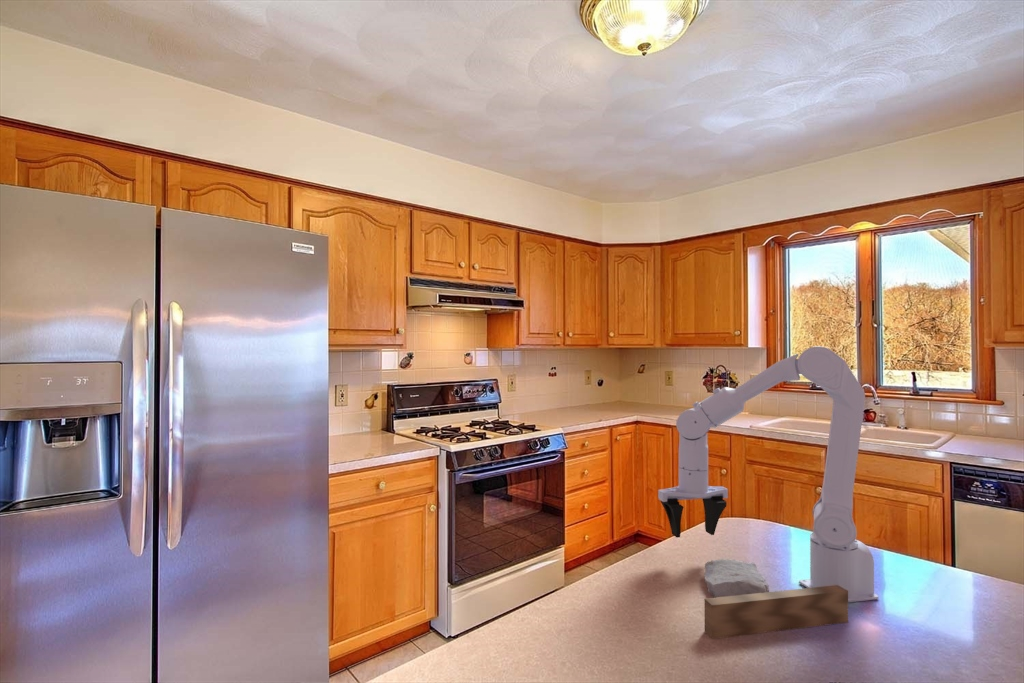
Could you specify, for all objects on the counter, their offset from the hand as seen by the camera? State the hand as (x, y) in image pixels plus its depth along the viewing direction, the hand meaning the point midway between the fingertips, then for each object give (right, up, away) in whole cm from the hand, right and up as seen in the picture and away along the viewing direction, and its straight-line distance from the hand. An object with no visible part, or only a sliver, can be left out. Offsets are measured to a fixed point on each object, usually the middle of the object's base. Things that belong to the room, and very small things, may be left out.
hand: (693, 534), depth 102 cm
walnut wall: (+5, -5, -24) cm, 25 cm away
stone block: (+3, -6, -11) cm, 13 cm away
